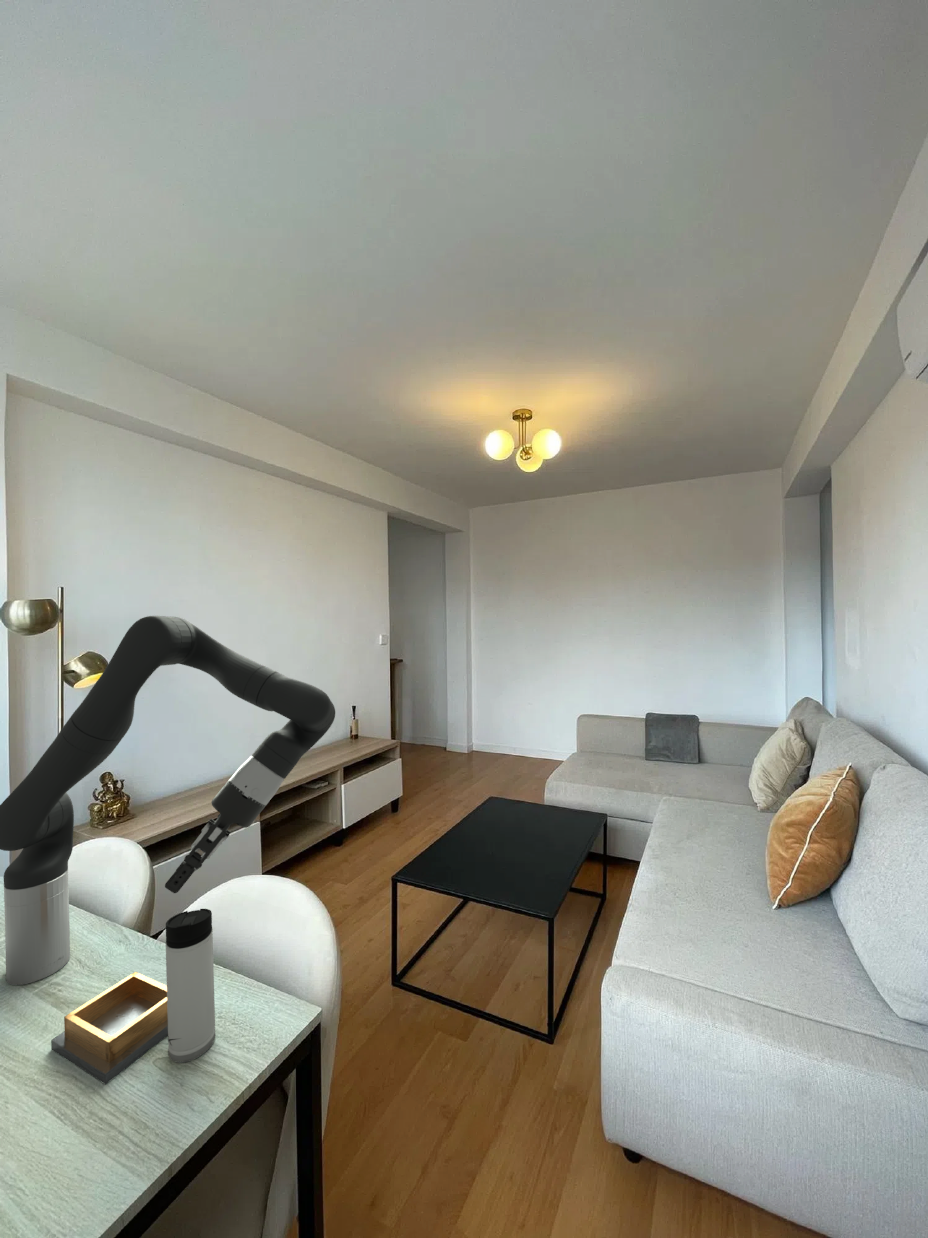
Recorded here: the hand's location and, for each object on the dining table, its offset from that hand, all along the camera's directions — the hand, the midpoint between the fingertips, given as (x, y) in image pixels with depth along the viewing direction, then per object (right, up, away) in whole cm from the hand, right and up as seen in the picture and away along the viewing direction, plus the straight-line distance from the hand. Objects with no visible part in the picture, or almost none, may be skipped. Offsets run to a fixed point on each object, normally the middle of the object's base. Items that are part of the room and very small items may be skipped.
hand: (175, 882), depth 77 cm
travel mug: (+4, -24, -2) cm, 24 cm away
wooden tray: (-9, -24, +1) cm, 26 cm away
